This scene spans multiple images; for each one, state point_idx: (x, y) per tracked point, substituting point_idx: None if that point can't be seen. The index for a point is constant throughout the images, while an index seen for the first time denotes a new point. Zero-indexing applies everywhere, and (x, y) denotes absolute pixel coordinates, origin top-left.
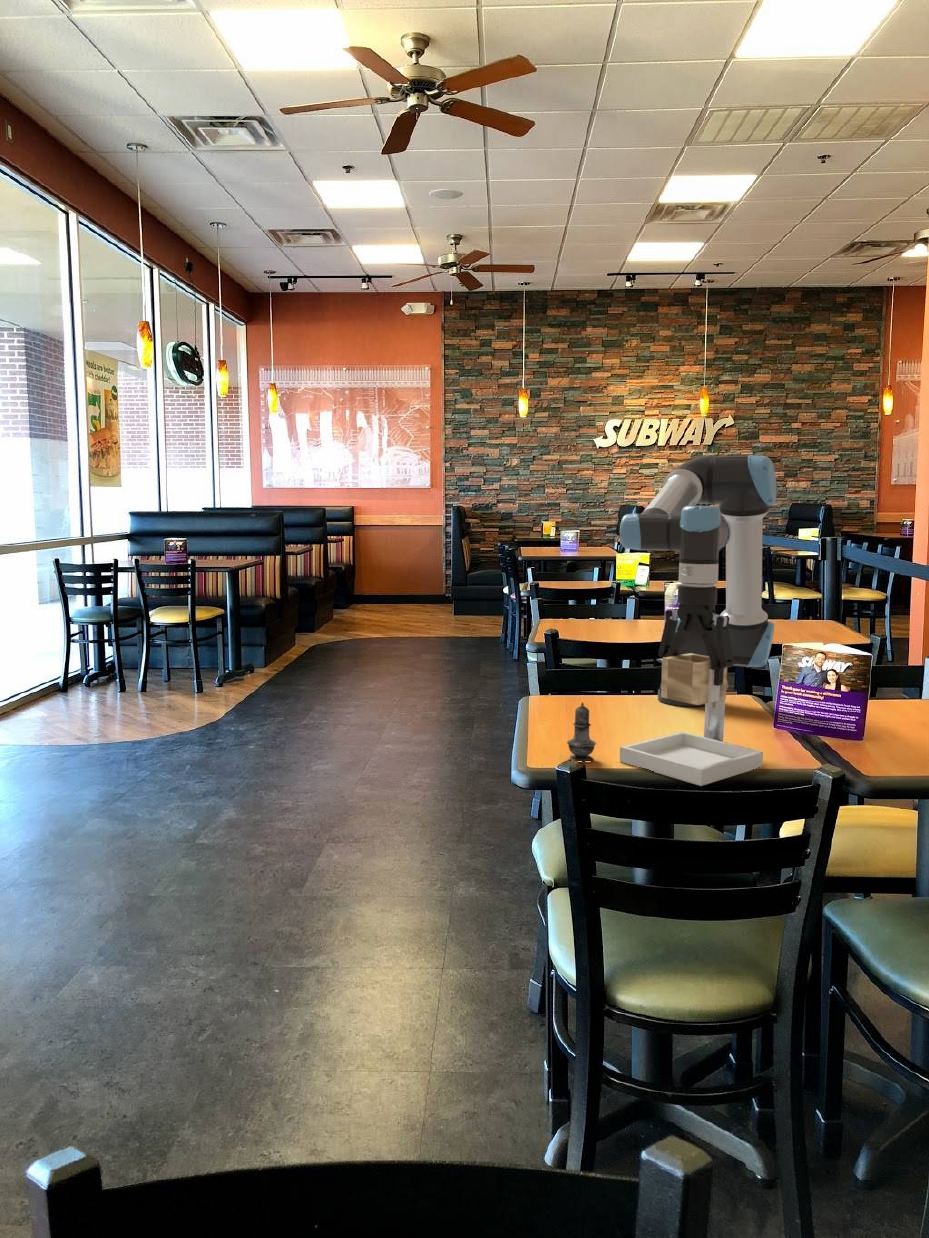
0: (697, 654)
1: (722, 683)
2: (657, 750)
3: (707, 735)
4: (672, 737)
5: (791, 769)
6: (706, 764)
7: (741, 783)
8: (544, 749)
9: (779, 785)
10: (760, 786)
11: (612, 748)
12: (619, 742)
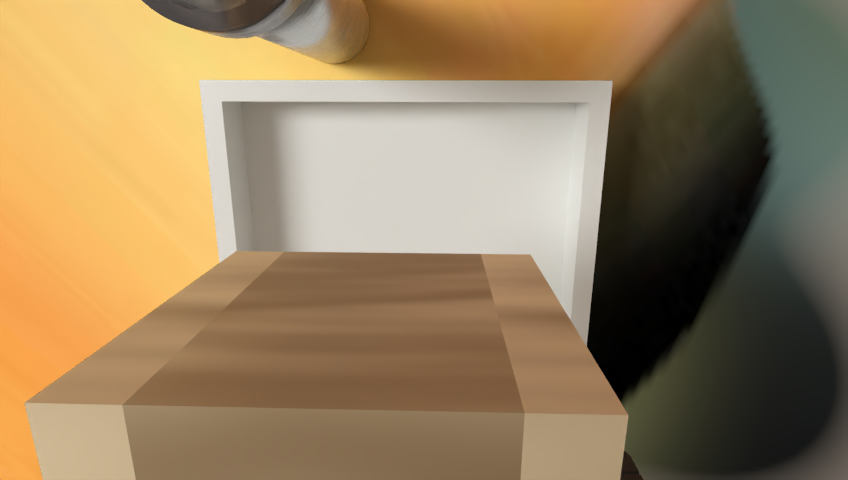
0: (148, 412)
1: (623, 454)
2: (254, 250)
3: (316, 57)
4: (231, 171)
5: (686, 20)
6: (465, 250)
7: (636, 301)
8: (35, 468)
9: (735, 227)
10: (694, 282)
11: (126, 309)
12: (75, 233)
